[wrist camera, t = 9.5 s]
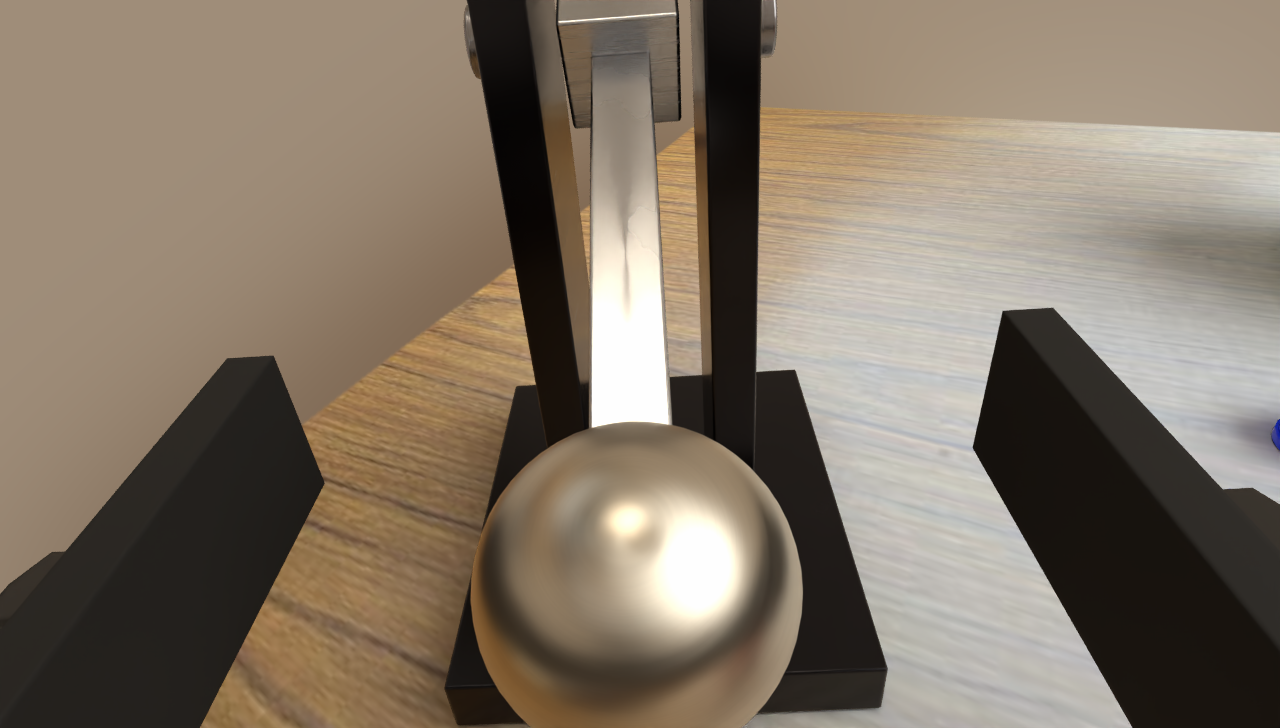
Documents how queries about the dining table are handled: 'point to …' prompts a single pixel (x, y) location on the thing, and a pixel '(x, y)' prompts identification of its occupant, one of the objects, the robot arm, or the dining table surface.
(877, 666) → the tap bracket
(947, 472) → the dining table surface
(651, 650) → the lever
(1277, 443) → the bottle cap
